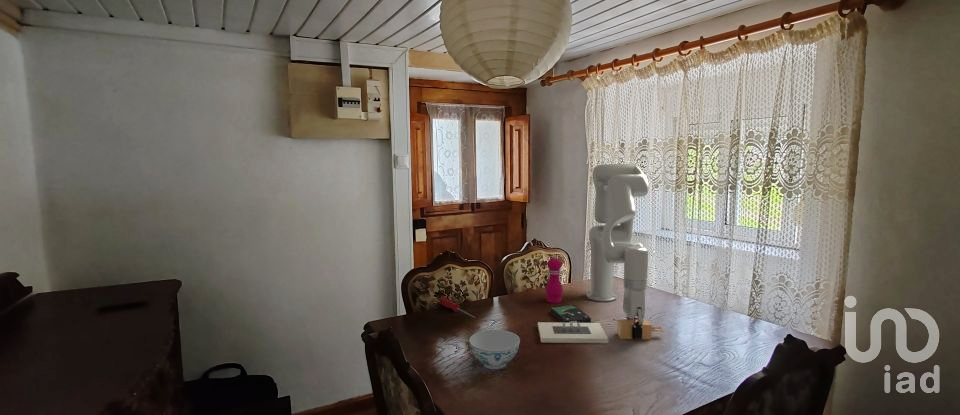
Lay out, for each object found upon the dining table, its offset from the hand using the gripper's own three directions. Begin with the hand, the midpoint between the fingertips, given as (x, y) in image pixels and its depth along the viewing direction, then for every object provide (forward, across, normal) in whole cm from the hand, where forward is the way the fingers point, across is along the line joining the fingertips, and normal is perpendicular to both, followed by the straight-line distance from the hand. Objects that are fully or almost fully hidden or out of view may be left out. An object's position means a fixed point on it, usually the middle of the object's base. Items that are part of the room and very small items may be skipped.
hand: (633, 333), depth 152 cm
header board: (+1, -1, -21) cm, 21 cm away
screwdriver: (+1, -22, -63) cm, 66 cm away
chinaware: (+1, +22, -47) cm, 52 cm away
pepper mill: (+1, -37, -23) cm, 44 cm away
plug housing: (+1, 0, +2) cm, 2 cm away
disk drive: (+2, -17, -19) cm, 26 cm away
